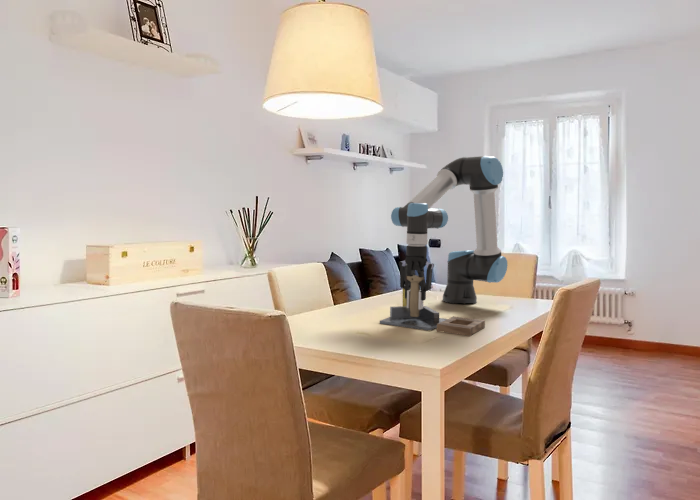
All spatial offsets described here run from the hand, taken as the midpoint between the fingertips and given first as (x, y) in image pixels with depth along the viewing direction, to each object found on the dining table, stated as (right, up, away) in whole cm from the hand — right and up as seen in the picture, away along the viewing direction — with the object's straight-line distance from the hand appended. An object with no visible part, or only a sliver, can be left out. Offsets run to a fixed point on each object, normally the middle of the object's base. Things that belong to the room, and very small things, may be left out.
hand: (414, 308), depth 211 cm
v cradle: (0, -5, +1) cm, 6 cm away
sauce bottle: (0, -4, +18) cm, 19 cm away
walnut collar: (+15, -7, -8) cm, 19 cm away
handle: (0, -3, 0) cm, 3 cm away
